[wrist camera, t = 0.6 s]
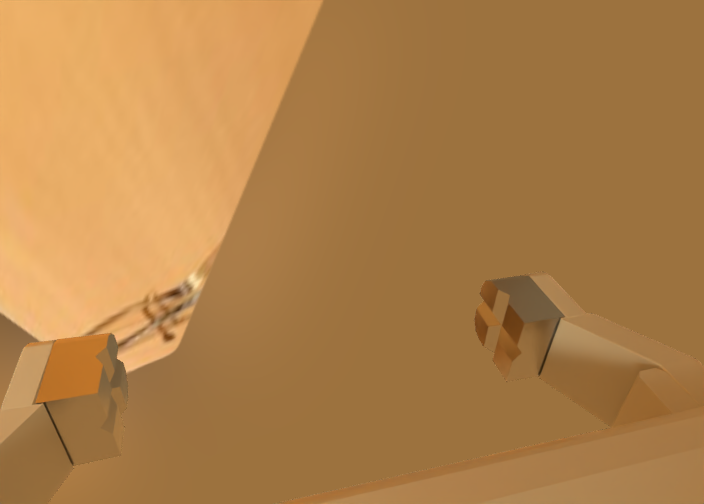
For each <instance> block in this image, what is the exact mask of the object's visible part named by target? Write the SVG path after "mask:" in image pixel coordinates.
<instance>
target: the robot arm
mask: <svg viewBox="0 0 704 504" xmlns="http://www.w3.org/2000/svg"><path fill="white" fill-rule="evenodd" d="M480 295H481V297H482V298H483V300H484V301H483V302H482V303H481V304H480V305H479V306H478V307H477V309H476V313H475V319H474V320H475V330H476V333H477V336H478V338H479V340H480V342H481V343H482V345H483V346H484V347H485V348H487V349H488V350H490V351H492V352H494V356H493V362H494V364H495V365H496V366H497V368H498V370H499V371H500V373H501V374H502V376H503V377H504V379H505V380H506V382H508V381H514V380H519V379H526V378H532V377H539V376H540V379H541V380H543V381H544V382H546V383H547V384H549V385H550V386H552V387H553V388H554V389H556V390H557V391H559V392H560V393H562V394H563V395H565V396H566V397H568V398H569V399H570V400H572V401H573V402H575V403H576V404H578V405H579V406H581V407H582V408H584V409H585V410H587V411H588V412H589V413H591V414H592V415H594V416H595V417H597V418H598V419H600V420H601V421H602V422H604V423H605V424H607V425H608V426H610V427H611V428H606V429H602V430H598V431H594V432H588V433H585V434H580V435H576V436H571V437H566V438H562V439H557V440H553V441H549V442H544V443H540V444H536V445H531V446H527V447H522V448H518V449H513V450H509V451H505V452H501V453H496V454H491V455H487V456H483V457H478V458H474V459H470V460H465V461H461V462H456V463H452V464H447V465H443V466H439V467H434V468H430V469H425V470H421V471H417V472H412V473H408V474H403V475H399V476H395V477H390V478H385V479H381V480H377V481H372V482H368V483H363V484H359V485H355V486H351V487H346V488H341V489H337V490H333V491H328V492H324V493H319V494H315V495H311V496H306V497H301V498H297V499H292V500H288V501H283V502H279V503H275V504H704V366H703V365H702V364H701V363H700V362H699V361H698V360H697V359H695V358H693V357H691V356H688V355H686V354H684V353H682V352H679V351H677V350H675V349H673V348H670V347H668V346H666V345H663V344H661V343H659V342H657V341H654V340H652V339H650V338H648V337H645V336H643V335H641V334H638V333H636V332H634V331H632V330H630V329H627V328H625V327H623V326H620V325H618V324H616V323H614V322H611V321H609V320H607V319H605V318H602V317H600V316H598V315H595V314H593V313H590V314H586V313H585V312H584V311H583V310H582V309H581V308H580V307H579V305H578V304H577V303H576V302H575V301H574V300H573V299H572V298H571V297H570V296H569V295H568V294H567V293H566V292H565V291H564V290H563V289H562V288H561V287H560V286H559V285H558V283H557V282H556V281H555V280H554V279H553V278H552V277H551V276H550V275H549V274H547V273H545V272H537V273H531V274H525V275H520V276H514V277H507V278H500V279H493V280H486V281H485V282H484V283H483V285H482V287H481V291H480ZM117 352H118V345H117V342H116V339H115V336H114V335H113V334H111V333H107V334H99V335H90V336H82V337H73V338H65V339H57V340H52V341H44V342H35V343H28V344H27V345H26V346H25V348H24V349H23V350H22V353H21V356H20V358H19V361H18V364H17V366H16V369H15V372H14V374H13V377H12V380H11V382H10V386H9V388H8V391H7V393H6V396H5V399H4V402H3V404H2V407H1V410H0V504H48V502H49V501H50V500H51V498H52V497H53V496H54V494H55V493H56V492H57V490H58V489H59V488H60V486H61V485H62V483H63V482H64V481H65V479H66V478H67V477H68V475H69V474H70V473H71V471H72V470H73V469H74V468H73V466H75V465H80V464H84V463H89V462H93V461H98V460H103V459H107V458H112V457H117V456H120V455H121V451H122V443H123V435H124V427H125V426H124V424H123V420H122V417H121V414H122V413H123V412H124V411H125V410H126V409H127V401H128V381H127V375H126V370H125V367H124V364H123V362H121V361H120V360H118V359H117Z"/></svg>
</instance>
